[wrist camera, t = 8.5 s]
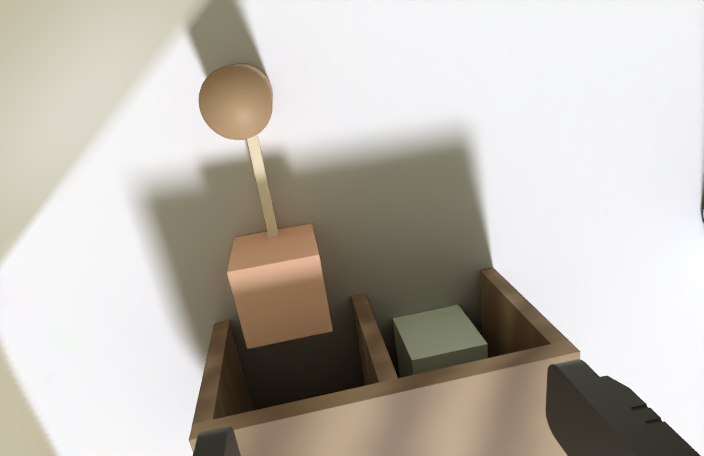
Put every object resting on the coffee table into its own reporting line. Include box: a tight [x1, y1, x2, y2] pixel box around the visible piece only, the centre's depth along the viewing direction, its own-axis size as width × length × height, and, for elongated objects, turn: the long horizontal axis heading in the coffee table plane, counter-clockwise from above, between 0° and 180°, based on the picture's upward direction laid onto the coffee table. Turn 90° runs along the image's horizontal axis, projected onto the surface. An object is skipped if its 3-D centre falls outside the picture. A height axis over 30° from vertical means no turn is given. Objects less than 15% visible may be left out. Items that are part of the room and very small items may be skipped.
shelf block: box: [393, 305, 488, 378], centre depth 32 cm, size 5×5×5 cm
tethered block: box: [199, 64, 333, 349], centre depth 25 cm, size 5×15×6 cm, turn 8°
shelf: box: [189, 268, 580, 456], centre depth 29 cm, size 20×10×10 cm, turn 98°
